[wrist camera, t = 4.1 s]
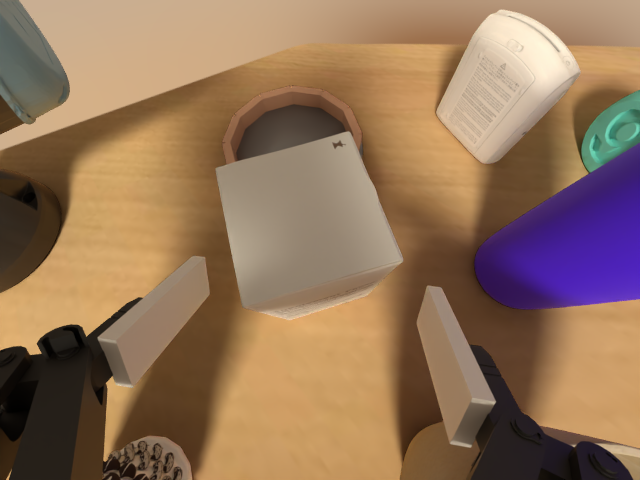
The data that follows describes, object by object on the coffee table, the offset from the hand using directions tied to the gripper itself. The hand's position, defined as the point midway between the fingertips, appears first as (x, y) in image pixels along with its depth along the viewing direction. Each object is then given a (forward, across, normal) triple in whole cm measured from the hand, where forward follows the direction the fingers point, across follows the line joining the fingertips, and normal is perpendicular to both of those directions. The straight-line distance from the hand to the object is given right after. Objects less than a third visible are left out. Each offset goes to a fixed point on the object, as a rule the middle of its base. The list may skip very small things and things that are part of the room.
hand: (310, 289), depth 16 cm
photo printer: (+26, +16, +8) cm, 31 cm away
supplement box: (+12, -1, -6) cm, 13 cm away
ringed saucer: (+22, -6, +4) cm, 23 cm away
